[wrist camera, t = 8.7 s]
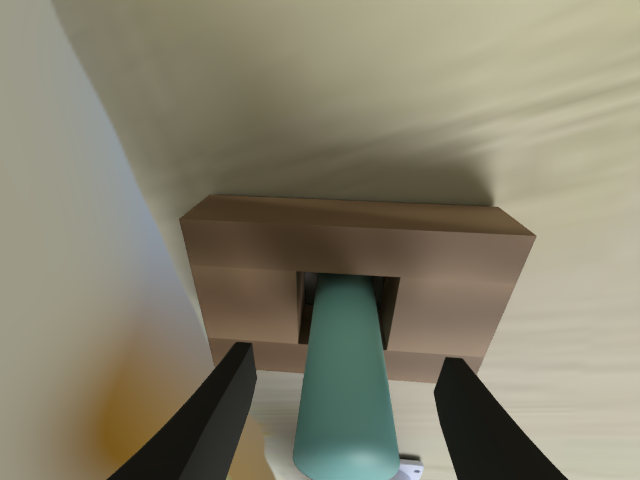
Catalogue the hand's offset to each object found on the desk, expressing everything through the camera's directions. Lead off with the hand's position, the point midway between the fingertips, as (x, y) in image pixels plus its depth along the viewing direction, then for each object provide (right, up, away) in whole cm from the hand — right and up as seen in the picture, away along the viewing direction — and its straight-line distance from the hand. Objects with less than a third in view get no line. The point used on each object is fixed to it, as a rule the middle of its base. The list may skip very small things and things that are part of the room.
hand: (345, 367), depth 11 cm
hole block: (0, +3, +5) cm, 6 cm away
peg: (0, +3, +5) cm, 6 cm away
